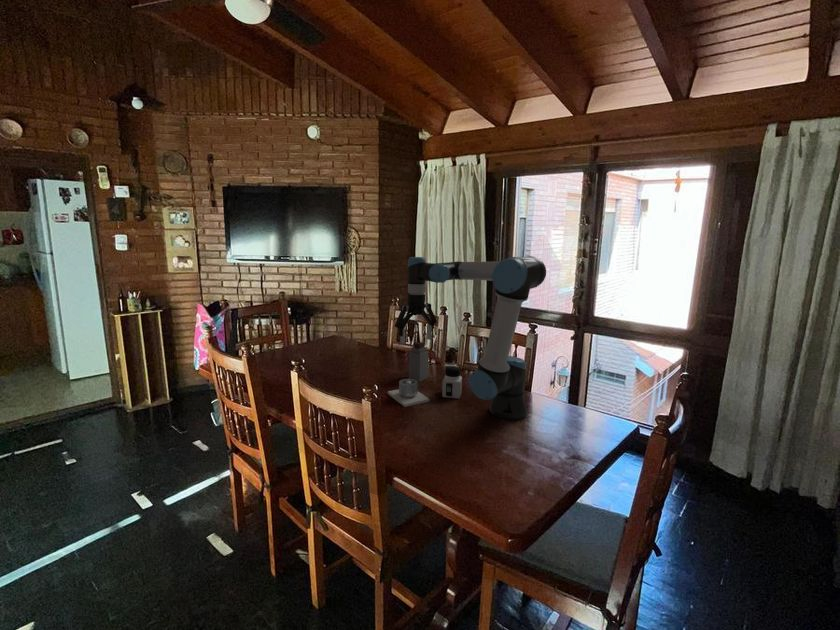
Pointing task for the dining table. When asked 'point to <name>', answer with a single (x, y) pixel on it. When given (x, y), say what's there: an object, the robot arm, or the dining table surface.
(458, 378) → the container
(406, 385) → the hub
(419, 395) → the shaft block
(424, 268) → the robot arm
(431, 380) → the dining table surface
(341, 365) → the dining table surface
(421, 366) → the perfume bottle
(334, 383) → the dining table surface
